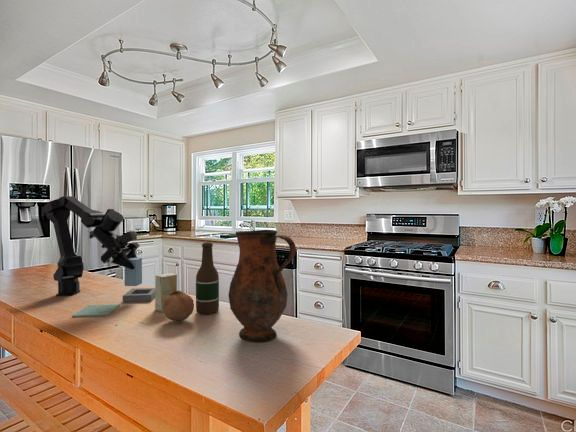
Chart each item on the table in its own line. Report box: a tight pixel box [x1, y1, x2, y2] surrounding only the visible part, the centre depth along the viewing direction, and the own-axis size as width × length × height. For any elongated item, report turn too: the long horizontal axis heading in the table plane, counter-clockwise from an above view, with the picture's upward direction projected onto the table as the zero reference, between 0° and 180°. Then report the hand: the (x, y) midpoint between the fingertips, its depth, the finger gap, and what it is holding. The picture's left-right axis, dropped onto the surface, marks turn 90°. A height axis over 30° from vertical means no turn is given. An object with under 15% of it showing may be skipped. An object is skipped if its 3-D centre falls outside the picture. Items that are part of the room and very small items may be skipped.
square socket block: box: [122, 287, 155, 303], centre depth 127 cm, size 10×10×2 cm
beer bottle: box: [195, 242, 220, 316], centre depth 111 cm, size 8×8×24 cm
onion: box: [162, 290, 195, 323], centre depth 101 cm, size 10×9×10 cm
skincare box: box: [154, 272, 178, 312], centre depth 114 cm, size 6×4×12 cm
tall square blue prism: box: [124, 257, 143, 287], centre depth 123 cm, size 4×4×10 cm
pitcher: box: [228, 229, 297, 343], centre depth 89 cm, size 17×21×30 cm
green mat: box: [71, 303, 121, 318], centre depth 111 cm, size 11×11×1 cm
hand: (136, 267), depth 123 cm, fingers closed on tall square blue prism, 4 cm apart
